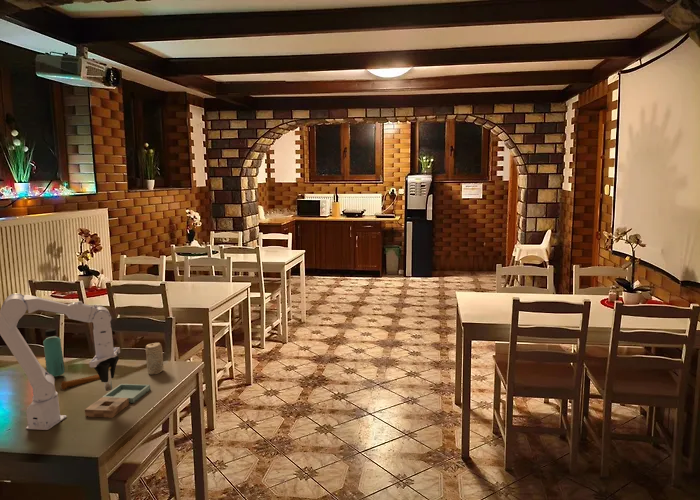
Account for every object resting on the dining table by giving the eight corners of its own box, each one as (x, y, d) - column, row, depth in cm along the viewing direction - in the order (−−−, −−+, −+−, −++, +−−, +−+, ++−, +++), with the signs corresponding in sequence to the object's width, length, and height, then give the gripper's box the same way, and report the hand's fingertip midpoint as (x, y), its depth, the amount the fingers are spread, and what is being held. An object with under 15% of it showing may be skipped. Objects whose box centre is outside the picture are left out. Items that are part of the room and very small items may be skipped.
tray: (133, 403, 191) (132, 398, 190) (102, 402, 193) (101, 397, 192) (150, 389, 202) (150, 384, 202) (121, 388, 204) (120, 383, 204)
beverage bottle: (64, 378, 216) (59, 330, 213) (45, 381, 214) (39, 333, 211) (66, 373, 222) (61, 326, 219) (48, 375, 220) (42, 328, 217)
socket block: (112, 417, 180) (111, 410, 180) (85, 416, 182) (84, 409, 181) (129, 404, 190) (128, 397, 190) (103, 403, 191) (102, 397, 191)
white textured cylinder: (145, 376, 216) (142, 347, 214) (150, 369, 224) (147, 341, 222) (161, 375, 217) (158, 346, 215) (166, 368, 224) (163, 340, 222)
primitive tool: (107, 373, 222) (106, 365, 221) (114, 376, 218) (113, 368, 218) (59, 389, 207) (58, 380, 206) (66, 392, 204) (65, 384, 203)
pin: (109, 391, 184) (107, 368, 183) (101, 391, 185) (99, 368, 184) (115, 387, 187) (112, 365, 186) (107, 387, 188) (105, 365, 187)
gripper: (101, 349, 176) (105, 388, 178) (126, 335, 190) (130, 372, 192) (81, 348, 177) (86, 388, 179) (108, 335, 191) (111, 371, 193)
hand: (107, 379), depth 186 cm, fingers closed on pin, 3 cm apart
